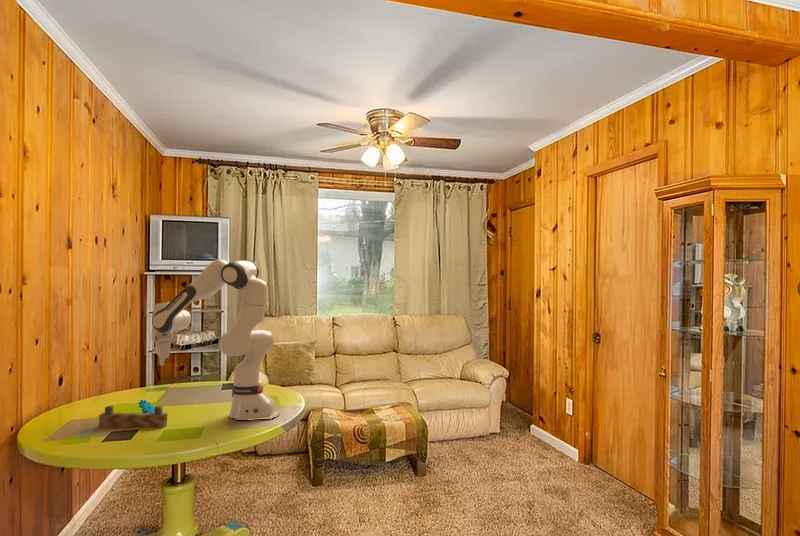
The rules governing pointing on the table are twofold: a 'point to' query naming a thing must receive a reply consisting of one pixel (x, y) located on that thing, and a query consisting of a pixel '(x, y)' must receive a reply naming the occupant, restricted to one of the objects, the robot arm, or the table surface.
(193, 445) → the table surface
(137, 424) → the stop bar
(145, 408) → the gear
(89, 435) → the table surface
